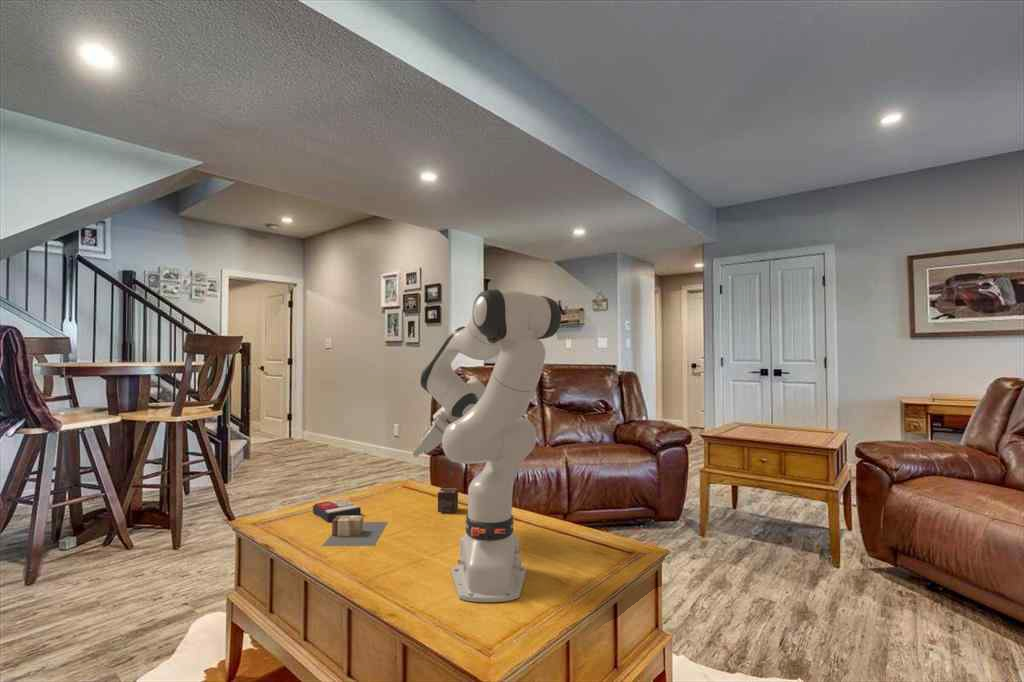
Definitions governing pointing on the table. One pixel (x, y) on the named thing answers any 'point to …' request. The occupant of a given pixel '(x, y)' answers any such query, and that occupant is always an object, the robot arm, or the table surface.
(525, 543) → the table surface
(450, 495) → the box
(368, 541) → the mat
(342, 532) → the block
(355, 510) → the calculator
